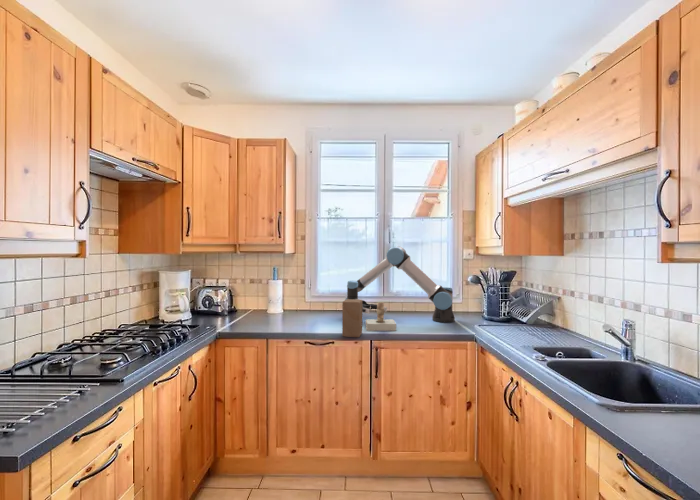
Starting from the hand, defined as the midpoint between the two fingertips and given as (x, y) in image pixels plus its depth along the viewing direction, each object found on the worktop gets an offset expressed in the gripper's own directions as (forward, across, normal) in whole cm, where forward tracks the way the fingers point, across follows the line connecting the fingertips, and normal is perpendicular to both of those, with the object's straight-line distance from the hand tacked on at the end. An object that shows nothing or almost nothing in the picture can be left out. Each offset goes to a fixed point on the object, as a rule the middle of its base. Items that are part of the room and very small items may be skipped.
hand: (377, 310), depth 231 cm
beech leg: (+2, 0, -11) cm, 11 cm away
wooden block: (+8, +24, -11) cm, 27 cm away
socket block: (+2, 0, -11) cm, 11 cm away
